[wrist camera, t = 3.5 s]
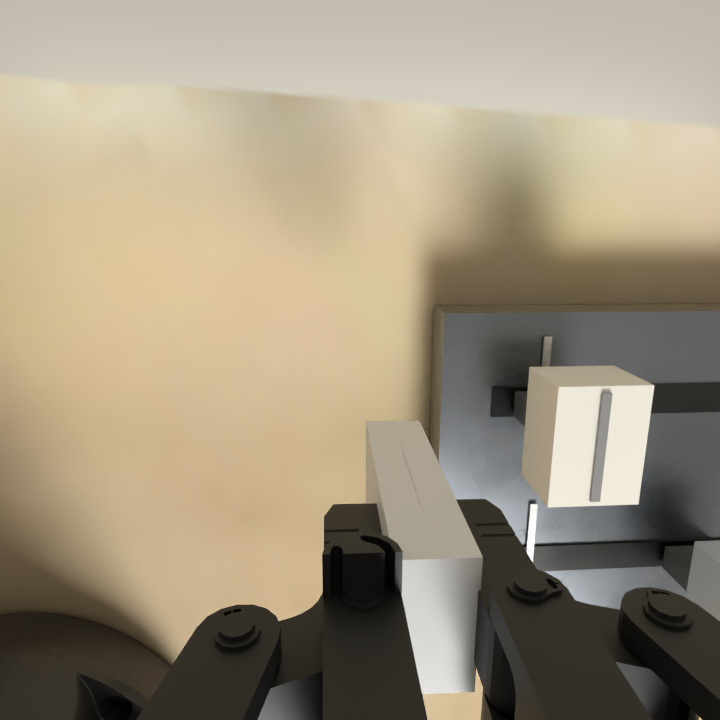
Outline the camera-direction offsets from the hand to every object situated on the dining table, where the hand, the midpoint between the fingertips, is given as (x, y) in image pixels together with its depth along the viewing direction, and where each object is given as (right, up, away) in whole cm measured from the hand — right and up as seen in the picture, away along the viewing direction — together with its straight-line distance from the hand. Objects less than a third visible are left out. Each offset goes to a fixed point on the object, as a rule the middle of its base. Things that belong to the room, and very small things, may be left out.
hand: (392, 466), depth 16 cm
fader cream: (+6, +1, +6) cm, 9 cm away
